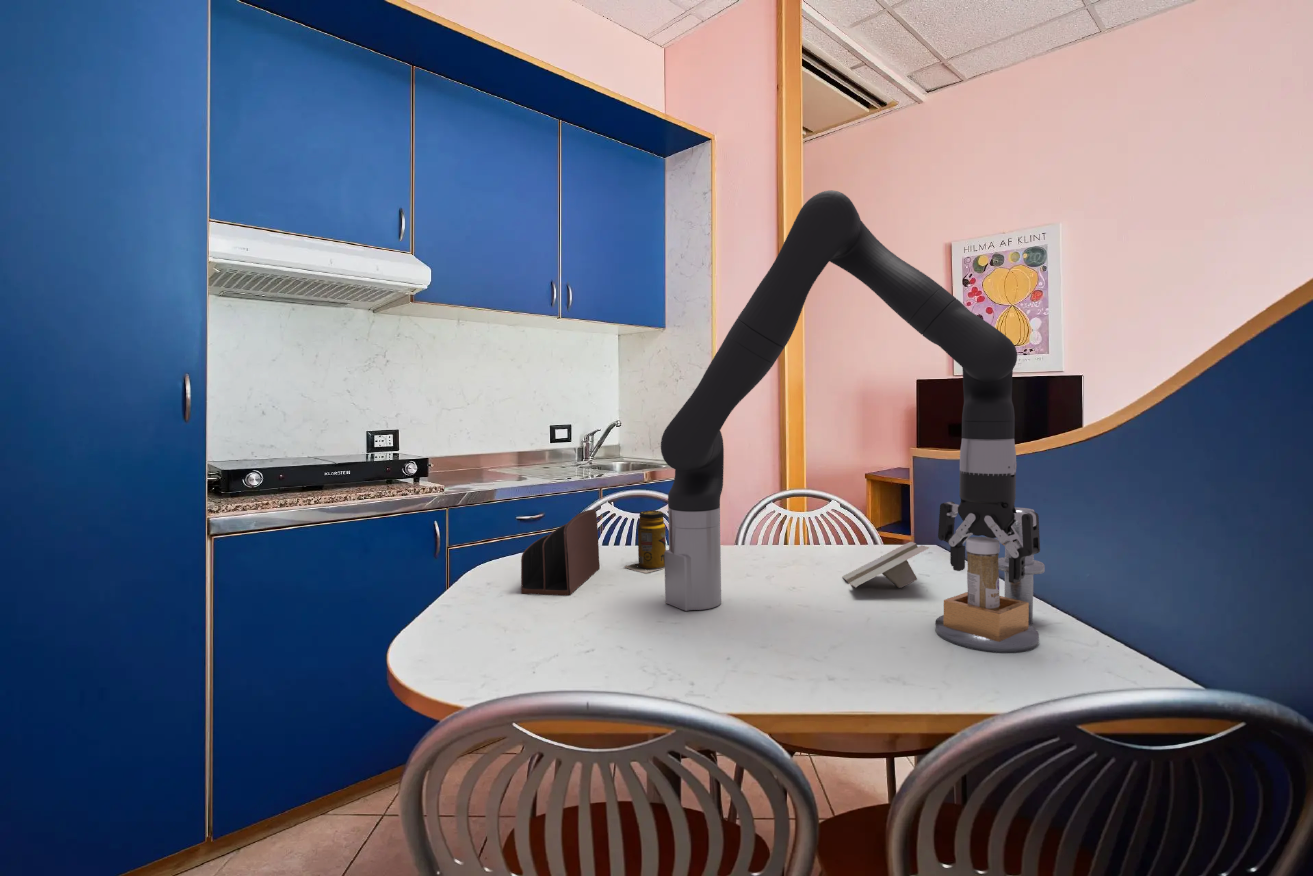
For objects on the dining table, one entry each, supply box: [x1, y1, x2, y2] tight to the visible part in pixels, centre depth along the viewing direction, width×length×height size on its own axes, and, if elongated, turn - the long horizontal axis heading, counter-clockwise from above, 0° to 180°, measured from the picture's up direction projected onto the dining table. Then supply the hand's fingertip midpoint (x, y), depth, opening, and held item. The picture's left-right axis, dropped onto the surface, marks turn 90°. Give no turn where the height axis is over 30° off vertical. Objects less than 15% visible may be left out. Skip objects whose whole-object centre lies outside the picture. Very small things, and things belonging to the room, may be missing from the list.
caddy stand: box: [934, 507, 1046, 654], centre depth 102 cm, size 20×14×18 cm
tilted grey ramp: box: [841, 541, 930, 589], centre depth 126 cm, size 16×9×15 cm
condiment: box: [623, 510, 667, 574], centre depth 145 cm, size 7×8×12 cm
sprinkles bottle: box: [965, 536, 1001, 611], centre depth 100 cm, size 5×5×13 cm
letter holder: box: [520, 509, 600, 597], centre depth 135 cm, size 10×20×14 cm, turn 168°
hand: (986, 575), depth 100 cm, fingers open, 8 cm apart
